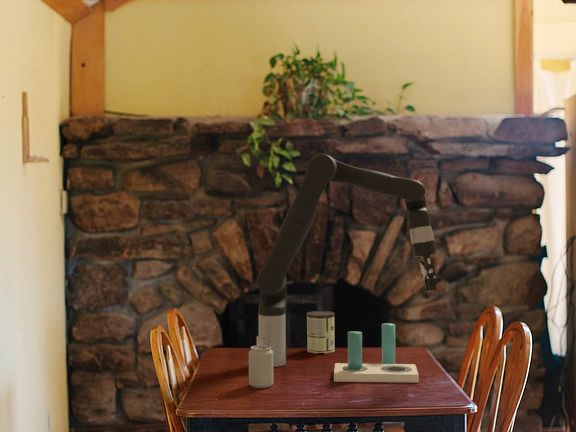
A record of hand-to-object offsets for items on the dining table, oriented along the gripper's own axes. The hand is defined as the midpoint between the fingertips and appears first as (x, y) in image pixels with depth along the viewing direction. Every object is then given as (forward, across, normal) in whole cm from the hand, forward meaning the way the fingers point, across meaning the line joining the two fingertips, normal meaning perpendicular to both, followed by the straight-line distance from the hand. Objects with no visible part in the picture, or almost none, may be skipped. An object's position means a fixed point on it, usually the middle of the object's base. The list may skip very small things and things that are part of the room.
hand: (431, 290), depth 251 cm
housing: (+24, +5, -23) cm, 33 cm away
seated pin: (+23, +4, -29) cm, 37 cm away
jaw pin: (+23, -10, -17) cm, 31 cm away
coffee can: (+17, -34, -40) cm, 55 cm away
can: (+20, +17, -58) cm, 64 cm away
